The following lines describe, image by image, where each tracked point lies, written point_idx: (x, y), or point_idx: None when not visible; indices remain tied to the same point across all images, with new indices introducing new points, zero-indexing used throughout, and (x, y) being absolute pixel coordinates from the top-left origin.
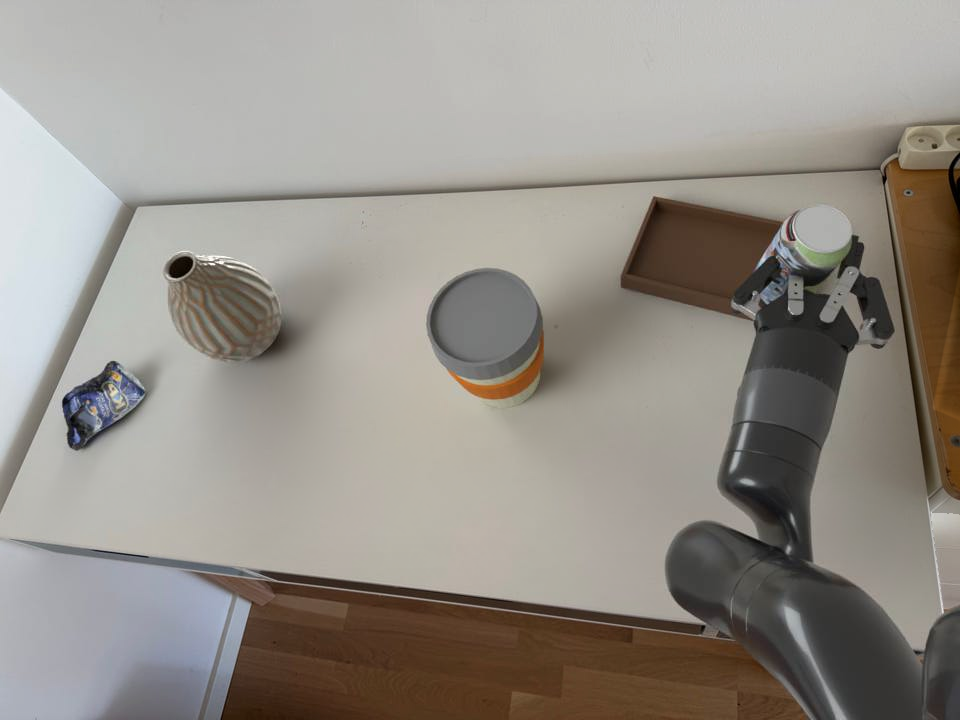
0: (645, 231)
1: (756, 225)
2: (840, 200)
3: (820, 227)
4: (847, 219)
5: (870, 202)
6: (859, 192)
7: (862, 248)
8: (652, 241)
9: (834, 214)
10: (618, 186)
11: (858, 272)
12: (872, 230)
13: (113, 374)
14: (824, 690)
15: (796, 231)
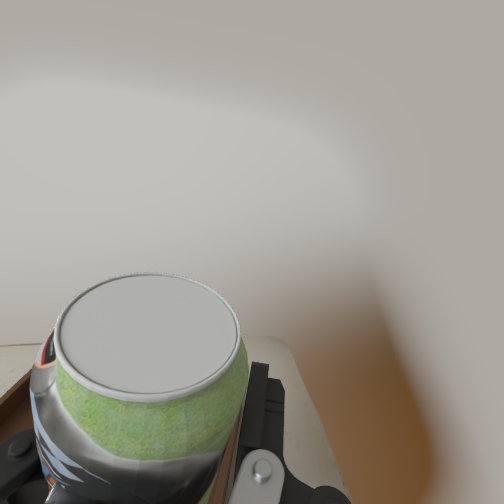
0: (13, 401)
1: None
2: (257, 359)
3: (151, 318)
4: (228, 304)
5: (284, 361)
6: (273, 352)
7: (280, 393)
8: (22, 417)
9: (197, 293)
10: (22, 347)
11: (282, 471)
12: (292, 389)
13: None
14: None
15: (65, 327)
